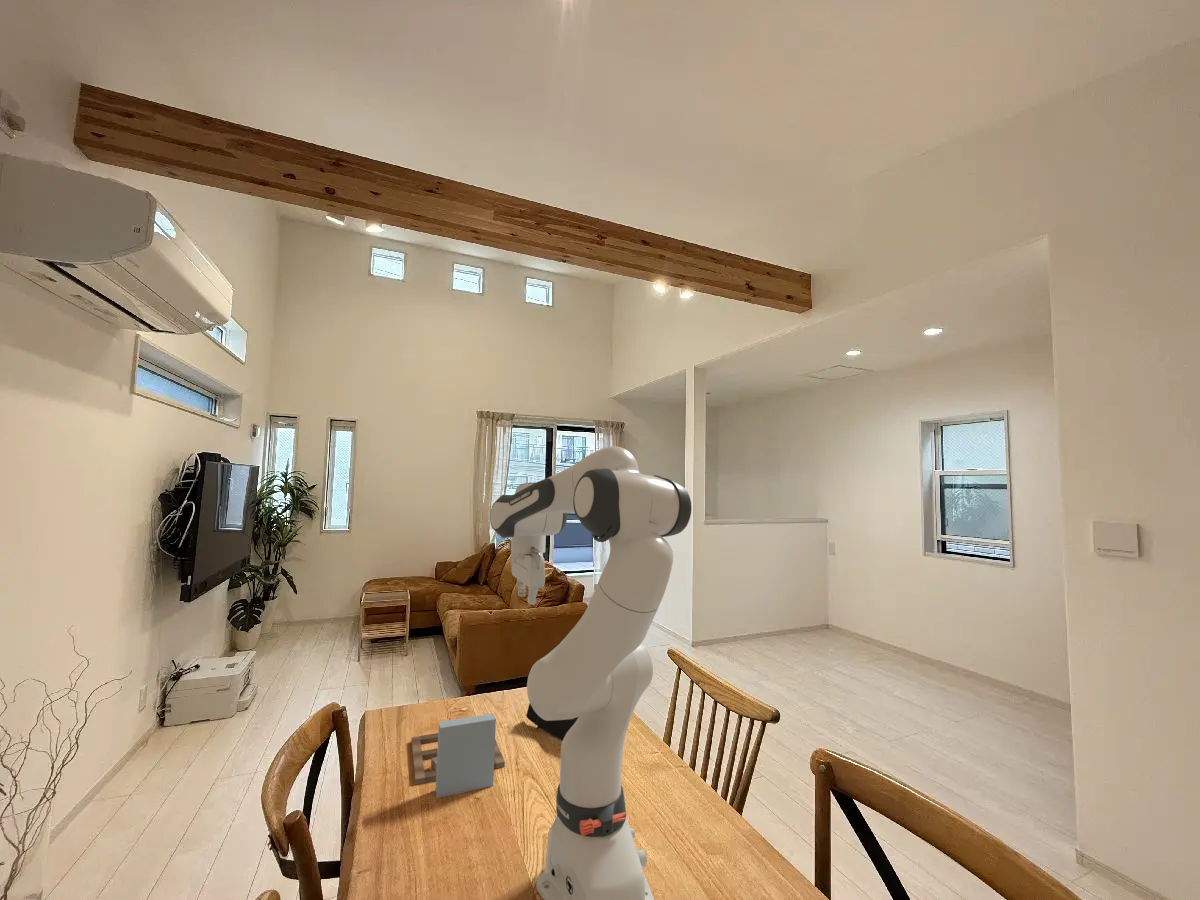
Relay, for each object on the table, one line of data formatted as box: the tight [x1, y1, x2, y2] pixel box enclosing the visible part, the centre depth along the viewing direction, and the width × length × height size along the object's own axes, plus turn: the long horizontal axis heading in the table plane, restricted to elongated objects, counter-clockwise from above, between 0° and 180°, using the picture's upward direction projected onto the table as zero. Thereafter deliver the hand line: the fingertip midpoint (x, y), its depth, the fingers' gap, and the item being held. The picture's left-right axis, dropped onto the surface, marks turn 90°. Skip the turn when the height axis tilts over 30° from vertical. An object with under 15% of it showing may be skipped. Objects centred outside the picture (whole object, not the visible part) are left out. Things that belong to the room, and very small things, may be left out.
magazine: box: [525, 702, 578, 741], centre depth 132 cm, size 17×3×30 cm
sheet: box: [435, 713, 497, 799], centre depth 108 cm, size 3×12×15 cm, turn 113°
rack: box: [410, 732, 506, 786], centre depth 121 cm, size 20×20×2 cm
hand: (526, 600), depth 125 cm, fingers open, 8 cm apart
